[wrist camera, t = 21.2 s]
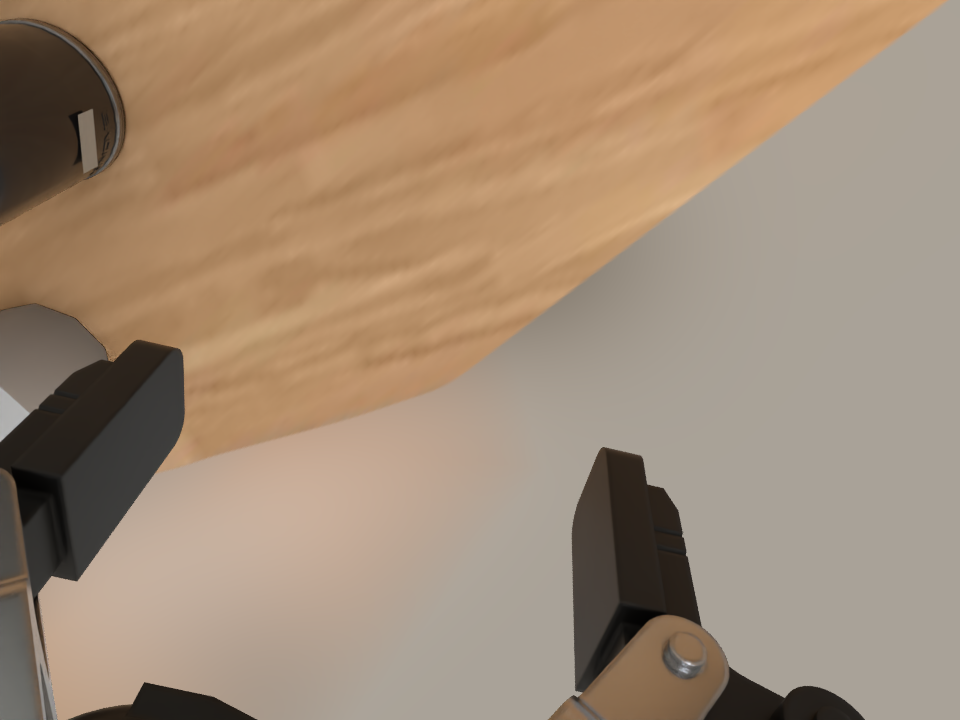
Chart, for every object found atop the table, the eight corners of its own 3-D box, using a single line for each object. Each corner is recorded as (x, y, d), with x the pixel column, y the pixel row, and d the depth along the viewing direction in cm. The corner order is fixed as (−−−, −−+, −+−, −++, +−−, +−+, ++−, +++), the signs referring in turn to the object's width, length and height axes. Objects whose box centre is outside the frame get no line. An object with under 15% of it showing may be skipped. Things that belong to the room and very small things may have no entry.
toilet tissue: (-40, 390, 57) (-127, 459, 49) (16, 280, 51) (-73, 342, 43) (65, 451, 59) (-4, 526, 52) (130, 354, 53) (63, 423, 46)
